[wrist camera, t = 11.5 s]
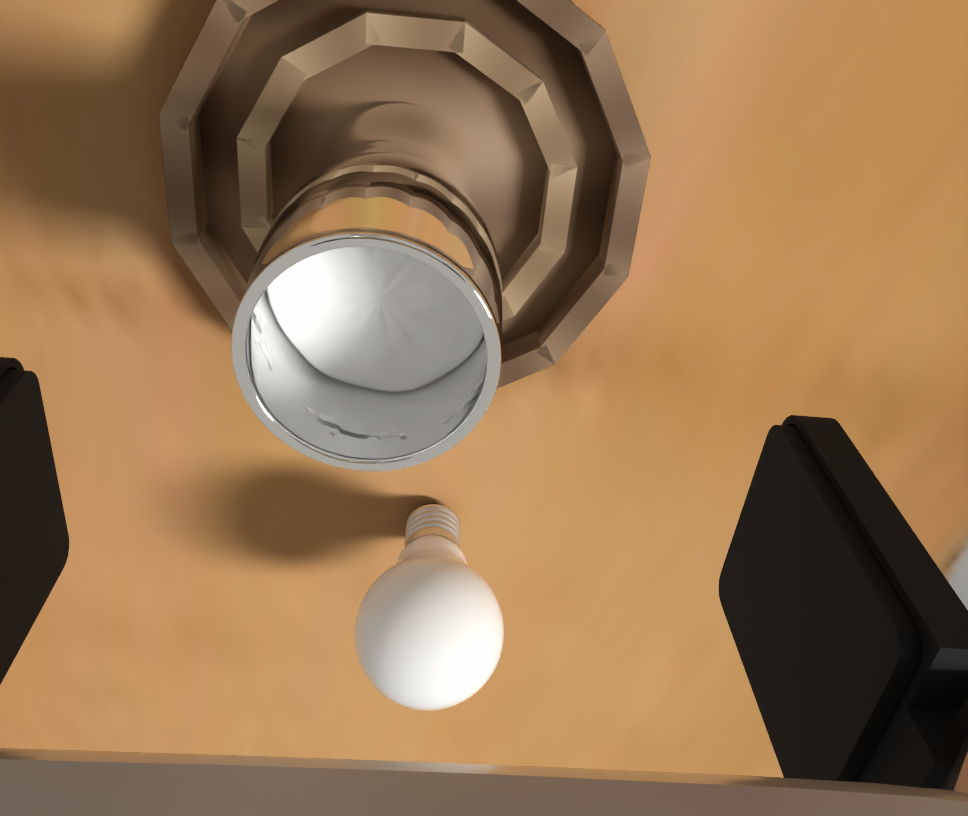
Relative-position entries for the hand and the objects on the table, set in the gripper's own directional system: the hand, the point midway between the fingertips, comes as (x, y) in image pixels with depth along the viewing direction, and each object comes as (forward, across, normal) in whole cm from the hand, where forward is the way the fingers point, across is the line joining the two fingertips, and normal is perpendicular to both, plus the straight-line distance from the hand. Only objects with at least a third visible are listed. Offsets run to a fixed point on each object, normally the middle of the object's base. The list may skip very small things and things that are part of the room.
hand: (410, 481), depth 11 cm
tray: (+25, +1, +4) cm, 26 cm away
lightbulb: (+25, -2, +21) cm, 33 cm away
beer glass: (+25, +1, +4) cm, 25 cm away
